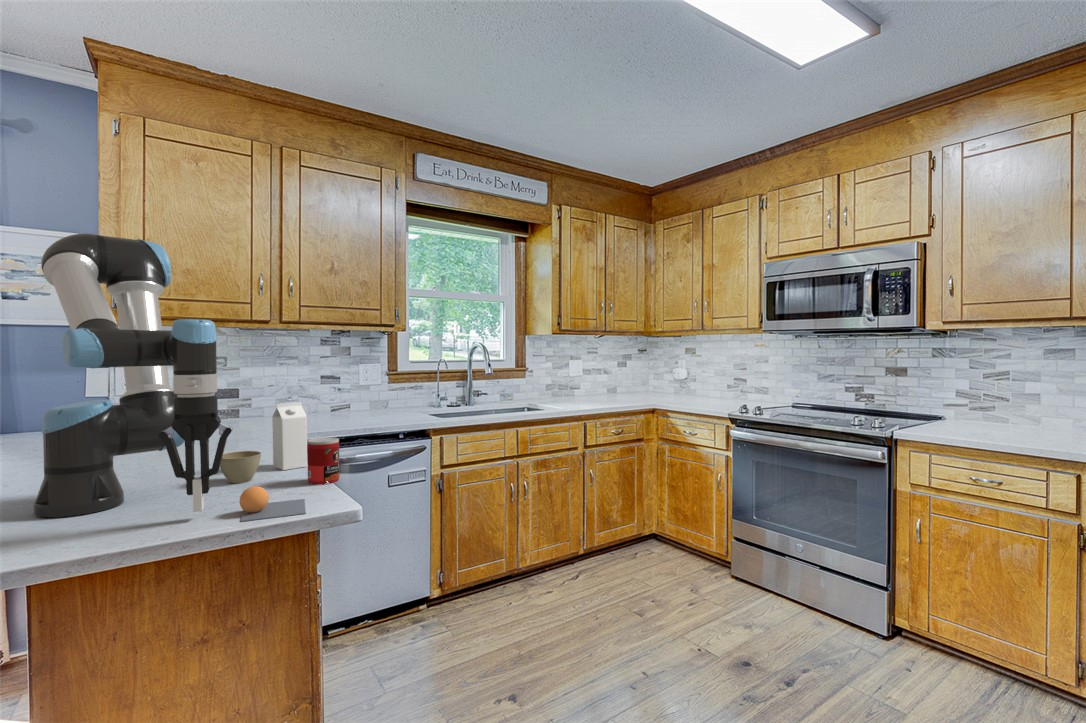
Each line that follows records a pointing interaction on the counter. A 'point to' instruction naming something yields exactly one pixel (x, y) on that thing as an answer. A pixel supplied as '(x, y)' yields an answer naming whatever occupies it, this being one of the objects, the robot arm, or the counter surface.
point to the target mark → (277, 510)
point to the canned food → (323, 460)
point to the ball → (254, 499)
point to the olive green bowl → (240, 465)
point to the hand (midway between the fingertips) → (198, 509)
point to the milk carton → (289, 436)
